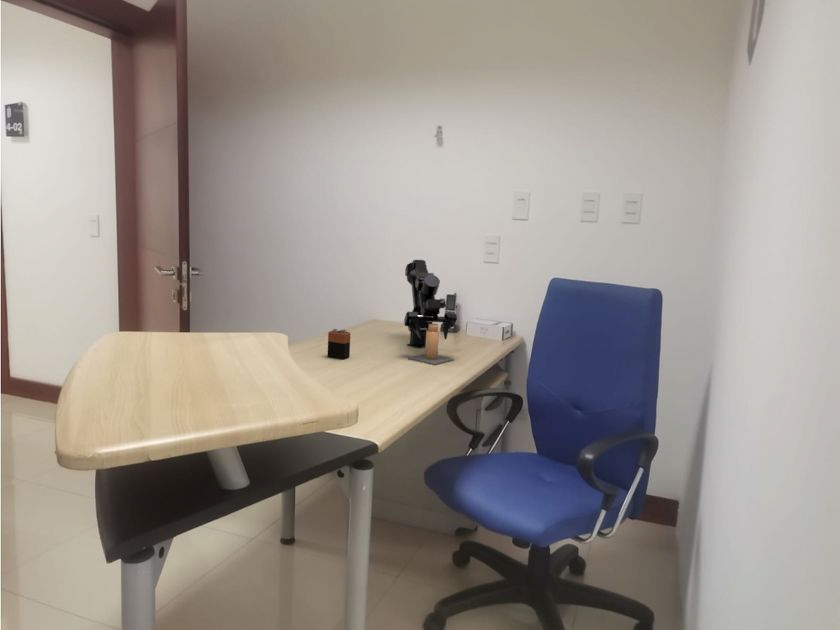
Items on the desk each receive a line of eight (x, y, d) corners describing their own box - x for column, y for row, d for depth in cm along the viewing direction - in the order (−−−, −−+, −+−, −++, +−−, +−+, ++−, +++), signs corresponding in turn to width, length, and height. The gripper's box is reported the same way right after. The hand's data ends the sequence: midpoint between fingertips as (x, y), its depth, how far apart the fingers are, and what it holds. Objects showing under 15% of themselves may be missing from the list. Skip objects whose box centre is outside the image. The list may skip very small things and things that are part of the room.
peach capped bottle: (422, 357, 208) (424, 323, 206) (433, 356, 210) (436, 323, 208) (428, 360, 204) (430, 325, 202) (439, 359, 206) (442, 325, 204)
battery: (343, 359, 198) (345, 331, 197) (326, 357, 201) (327, 329, 199) (349, 357, 202) (351, 329, 201) (333, 354, 205) (334, 327, 203)
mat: (407, 358, 206) (407, 357, 206) (427, 354, 215) (427, 353, 215) (434, 365, 199) (435, 363, 199) (453, 360, 208) (454, 359, 208)
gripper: (407, 289, 205) (412, 325, 196) (457, 291, 210) (464, 326, 201) (402, 307, 214) (406, 342, 205) (450, 309, 218) (456, 343, 209)
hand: (433, 338), depth 205 cm, fingers open, 9 cm apart
